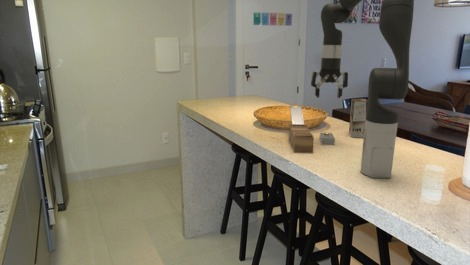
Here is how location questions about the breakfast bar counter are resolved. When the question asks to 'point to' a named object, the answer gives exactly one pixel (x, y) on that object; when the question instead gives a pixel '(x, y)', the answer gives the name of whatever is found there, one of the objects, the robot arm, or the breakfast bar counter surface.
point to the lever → (296, 115)
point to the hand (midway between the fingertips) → (328, 97)
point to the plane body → (301, 139)
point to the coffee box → (358, 117)
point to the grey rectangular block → (327, 138)
